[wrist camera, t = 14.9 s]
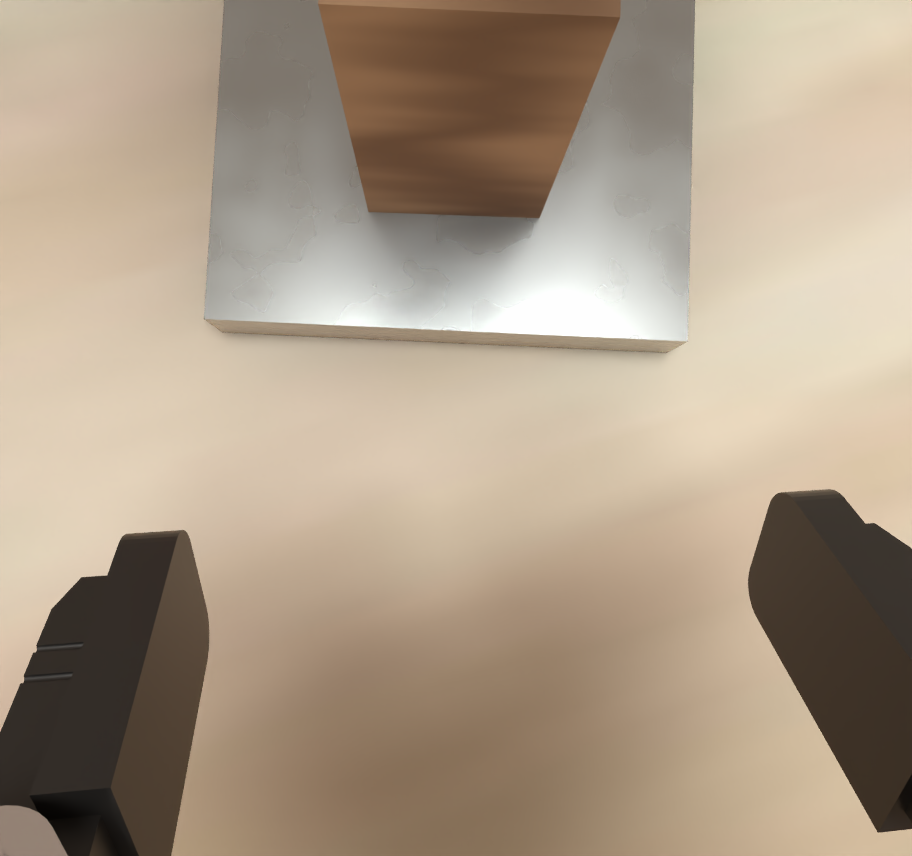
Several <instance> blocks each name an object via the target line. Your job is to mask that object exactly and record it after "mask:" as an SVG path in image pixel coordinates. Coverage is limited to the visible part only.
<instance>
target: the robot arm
mask: <svg viewBox="0 0 912 856" xmlns="http://www.w3.org/2000/svg"><path fill="white" fill-rule="evenodd" d="M748 588H749V596H750V601H751V604H752V608H753V610H754V613H755V615H756V617H757V619H758V620H759V622H760V624H761V626H762V628H763V629H764V631H765V633H766V635H767V636H768V638H769V640H770V642H771V644H772V645H773V647H774V649H775V651H776V652H777V654H778V656H779V658H780V660H781V661H782V663H783V665H784V667H785V668H786V670H787V672H788V674H789V676H790V677H791V679H792V681H793V683H794V684H795V686H796V688H797V690H798V692H799V693H800V695H801V697H802V699H803V700H804V702H805V704H806V706H807V707H808V709H809V711H810V713H811V715H812V716H813V718H814V720H815V722H816V723H817V725H818V727H819V729H820V731H821V732H822V734H823V736H824V738H825V739H826V741H827V743H828V745H829V747H830V748H831V750H832V752H833V754H834V755H835V757H836V759H837V761H838V763H839V764H840V766H841V768H842V770H843V771H844V773H845V775H846V777H847V779H848V780H849V782H850V784H851V786H852V787H853V789H854V791H855V793H856V794H857V796H858V798H859V800H860V802H861V803H862V805H863V807H864V809H865V810H866V812H867V814H868V816H869V818H870V819H871V821H872V823H873V825H874V826H875V828H876V830H877V832H878V833H879V832H888V831H897V830H906V829H912V549H911V548H910V547H909V546H907V545H906V544H904V543H903V542H901V541H900V540H898V539H897V538H896V537H894V536H893V535H891V534H890V533H888V532H887V531H885V530H884V529H882V528H881V527H879V526H878V525H876V524H875V523H871V524H865V523H864V521H863V520H862V519H861V518H860V517H859V515H858V514H857V513H856V512H855V510H854V509H853V508H852V507H851V506H850V504H849V503H848V502H847V501H846V499H845V498H844V497H843V496H842V495H841V494H840V493H838V492H837V491H835V490H830V489H827V490H812V491H797V492H782V493H778V494H776V495H775V496H774V497H773V498H772V500H771V502H770V505H769V508H768V511H767V514H766V518H765V521H764V524H763V527H762V531H761V534H760V537H759V541H758V544H757V547H756V551H755V554H754V557H753V561H752V564H751V567H750V571H749V578H748ZM36 646H37V651H36V653H33V655H32V657H31V660H30V662H29V665H28V667H27V669H26V672H25V674H24V683H21V684H20V686H19V689H18V691H17V693H16V696H15V698H14V701H13V703H12V705H11V708H10V710H9V713H8V715H7V717H6V720H5V722H4V725H3V727H2V729H1V732H0V856H171V853H172V848H173V842H174V837H175V831H176V826H177V821H178V815H179V810H180V805H181V799H182V794H183V788H184V783H185V778H186V772H187V767H188V761H189V756H190V751H191V745H192V740H193V734H194V729H195V724H196V718H197V713H198V707H199V702H200V697H201V691H202V686H203V681H204V675H205V670H206V664H207V659H208V651H209V621H208V613H207V608H206V604H205V600H204V596H203V591H202V587H201V583H200V579H199V575H198V571H197V567H196V563H195V558H194V554H193V550H192V546H191V542H190V539H189V536H188V534H187V532H186V531H184V530H179V531H163V532H148V533H133V534H125V535H124V536H123V537H122V538H121V540H120V542H119V544H118V547H117V550H116V553H115V556H114V558H113V561H112V564H111V567H110V570H109V572H108V575H107V576H95V577H81V578H80V580H79V581H78V582H77V583H76V584H75V585H74V586H73V587H72V588H71V589H70V590H69V591H68V592H67V593H66V594H65V596H64V597H63V598H62V599H61V600H60V601H59V602H58V603H57V604H56V605H55V606H54V607H53V608H52V609H51V612H50V614H49V617H48V619H47V621H46V624H45V626H44V629H43V631H42V633H41V636H40V638H39V641H38V643H37V645H36Z"/></svg>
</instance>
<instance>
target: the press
mask: <svg viewBox="0 0 912 856" xmlns="http://www.w3.org/2000/svg"><path fill="white" fill-rule="evenodd" d="M694 22H695V0H621V11H620V19H619V22H618V24H617V27H616V29H615V32H614V34H613V37H612V39H611V42H610V44H609V47H608V49H607V52H606V54H605V57H604V59H603V62H602V64H601V67H600V69H599V72H598V74H597V77H596V79H595V82H594V84H593V87H592V89H591V92H590V94H589V96H588V99H587V101H586V104H585V106H584V109H583V111H582V114H581V116H580V119H579V121H578V124H577V126H576V129H575V131H574V134H573V136H572V139H571V141H570V144H569V146H568V149H567V151H566V154H565V156H564V159H563V161H562V164H561V166H560V169H559V171H558V174H557V176H556V178H555V181H554V183H553V186H552V188H551V191H550V193H549V196H548V198H547V201H546V203H545V206H544V208H543V211H542V213H541V216H540V218H518V217H491V216H464V215H436V214H409V213H382V212H368V208H367V204H366V200H365V196H364V192H363V187H362V183H361V179H360V175H359V171H358V167H357V163H356V159H355V154H354V150H353V146H352V142H351V138H350V134H349V130H348V126H347V121H346V117H345V113H344V109H343V105H342V101H341V97H340V92H339V88H338V84H337V80H336V76H335V72H334V68H333V64H332V59H331V55H330V51H329V47H328V43H327V39H326V35H325V31H324V26H323V22H322V18H321V14H320V10H319V6H318V0H224V14H223V30H222V45H221V61H220V77H219V92H218V108H217V124H216V139H215V155H214V171H213V186H212V202H211V217H210V233H209V249H208V264H207V280H206V296H205V311H204V319H205V320H206V321H207V322H209V323H210V324H212V325H213V326H215V327H216V328H217V329H219V330H220V331H222V332H228V333H250V334H272V335H294V336H316V337H338V338H360V339H382V340H403V341H425V342H447V343H469V344H491V345H513V346H535V347H557V348H579V349H600V350H622V351H644V352H666V353H668V352H669V351H671V350H673V349H675V348H677V347H678V346H680V345H682V344H684V343H686V342H688V308H689V261H690V213H691V165H692V117H693V70H694Z"/></svg>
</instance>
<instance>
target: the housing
mask: <svg viewBox="0 0 912 856" xmlns="http://www.w3.org/2000/svg"><path fill="white" fill-rule="evenodd" d="M318 6H319V10H320V14H321V18H322V22H323V26H324V31H325V35H326V39H327V43H328V47H329V51H330V55H331V59H332V64H333V68H334V72H335V76H336V80H337V84H338V88H339V92H340V97H341V101H342V105H343V109H344V113H345V117H346V121H347V126H348V130H349V134H350V138H351V142H352V146H353V150H354V154H355V159H356V163H357V167H358V171H359V175H360V179H361V183H362V187H363V192H364V196H365V200H366V204H367V208H368V212H382V213H409V214H436V215H464V216H491V217H518V218H540V216H541V213H542V211H543V208H544V206H545V203H546V201H547V198H548V196H549V193H550V191H551V188H552V186H553V183H554V181H555V178H556V176H557V174H558V171H559V169H560V166H561V164H562V161H563V159H564V156H565V154H566V151H567V149H568V146H569V144H570V141H571V139H572V136H573V134H574V131H575V129H576V126H577V124H578V121H579V119H580V116H581V114H582V111H583V109H584V106H585V104H586V101H587V99H588V96H589V94H590V92H591V89H592V87H593V84H594V82H595V79H596V77H597V74H598V72H599V69H600V67H601V64H602V62H603V59H604V57H605V54H606V52H607V49H608V47H609V44H610V42H611V39H612V37H613V34H614V32H615V29H616V27H617V24H618V22H619V19H620V11H621V0H318Z"/></svg>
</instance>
